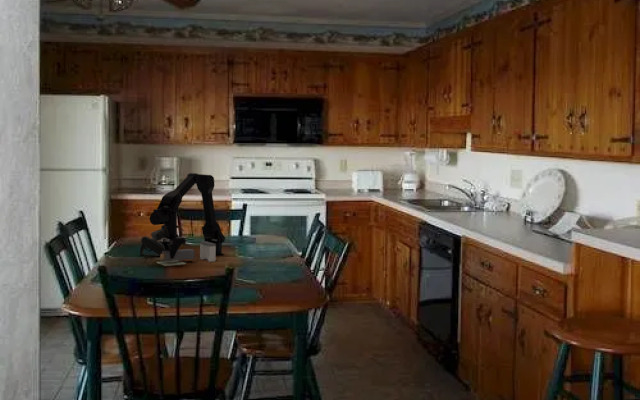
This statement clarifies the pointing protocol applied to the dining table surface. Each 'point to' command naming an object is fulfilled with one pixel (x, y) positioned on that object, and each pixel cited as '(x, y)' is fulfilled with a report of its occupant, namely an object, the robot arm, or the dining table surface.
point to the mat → (170, 263)
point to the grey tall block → (178, 255)
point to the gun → (151, 245)
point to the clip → (207, 251)
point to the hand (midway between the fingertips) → (169, 257)
